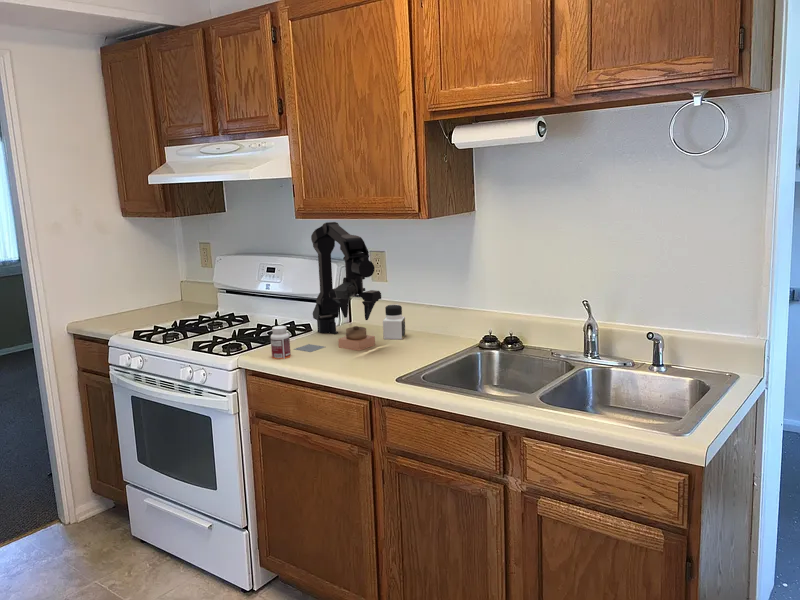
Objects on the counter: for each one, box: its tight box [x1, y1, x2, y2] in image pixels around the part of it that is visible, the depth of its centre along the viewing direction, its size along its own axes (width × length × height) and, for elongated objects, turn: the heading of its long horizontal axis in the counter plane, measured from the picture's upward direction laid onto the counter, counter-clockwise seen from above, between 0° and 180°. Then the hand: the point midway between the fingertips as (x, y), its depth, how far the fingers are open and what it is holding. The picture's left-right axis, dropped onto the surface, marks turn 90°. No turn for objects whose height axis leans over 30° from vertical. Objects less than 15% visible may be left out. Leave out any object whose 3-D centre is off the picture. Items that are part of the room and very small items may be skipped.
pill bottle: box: [270, 325, 292, 360], centre depth 233 cm, size 6×6×11 cm
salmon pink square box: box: [337, 334, 376, 352], centre depth 244 cm, size 9×9×4 cm
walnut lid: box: [345, 325, 367, 340], centre depth 244 cm, size 7×7×4 cm
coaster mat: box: [293, 343, 325, 353], centre depth 244 cm, size 8×8×1 cm
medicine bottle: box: [382, 304, 406, 340], centre depth 259 cm, size 7×7×12 cm
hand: (356, 318), depth 243 cm, fingers open, 9 cm apart
